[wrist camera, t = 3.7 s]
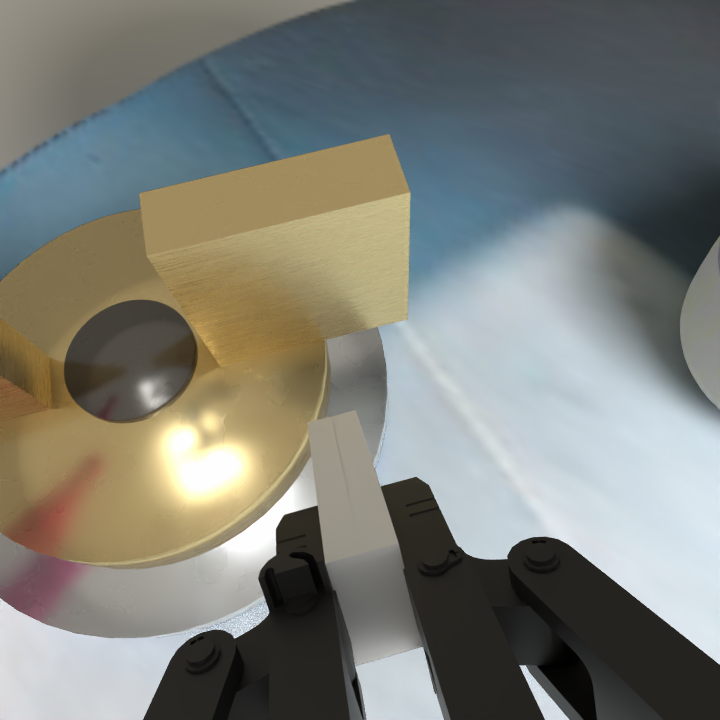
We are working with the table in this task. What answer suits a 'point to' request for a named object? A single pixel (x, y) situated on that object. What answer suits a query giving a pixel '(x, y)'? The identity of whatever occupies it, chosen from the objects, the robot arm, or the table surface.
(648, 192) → the table surface
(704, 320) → the teacup
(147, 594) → the silver round plate
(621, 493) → the table surface
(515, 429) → the table surface
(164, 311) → the gold twin-plate stand
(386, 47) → the table surface
